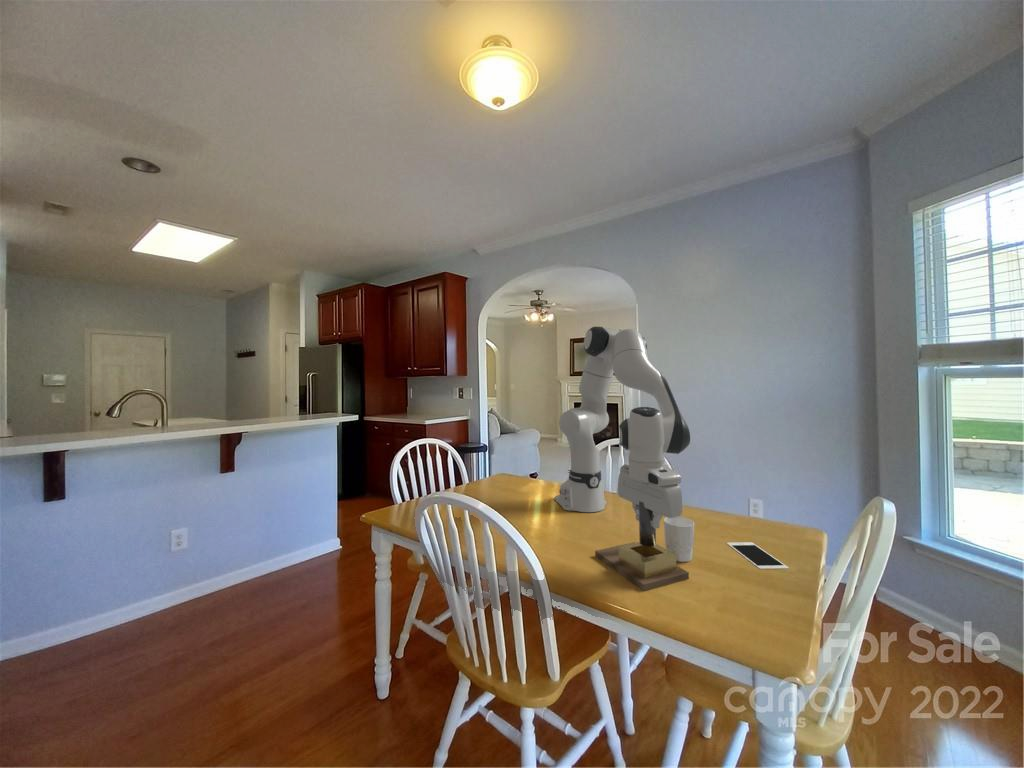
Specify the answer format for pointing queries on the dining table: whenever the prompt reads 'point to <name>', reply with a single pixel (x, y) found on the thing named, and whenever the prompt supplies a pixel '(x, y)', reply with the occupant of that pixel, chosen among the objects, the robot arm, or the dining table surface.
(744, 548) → the cell phone
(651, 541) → the steel pin
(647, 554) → the square brass washer
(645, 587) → the walnut board
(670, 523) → the white cup
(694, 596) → the dining table surface
